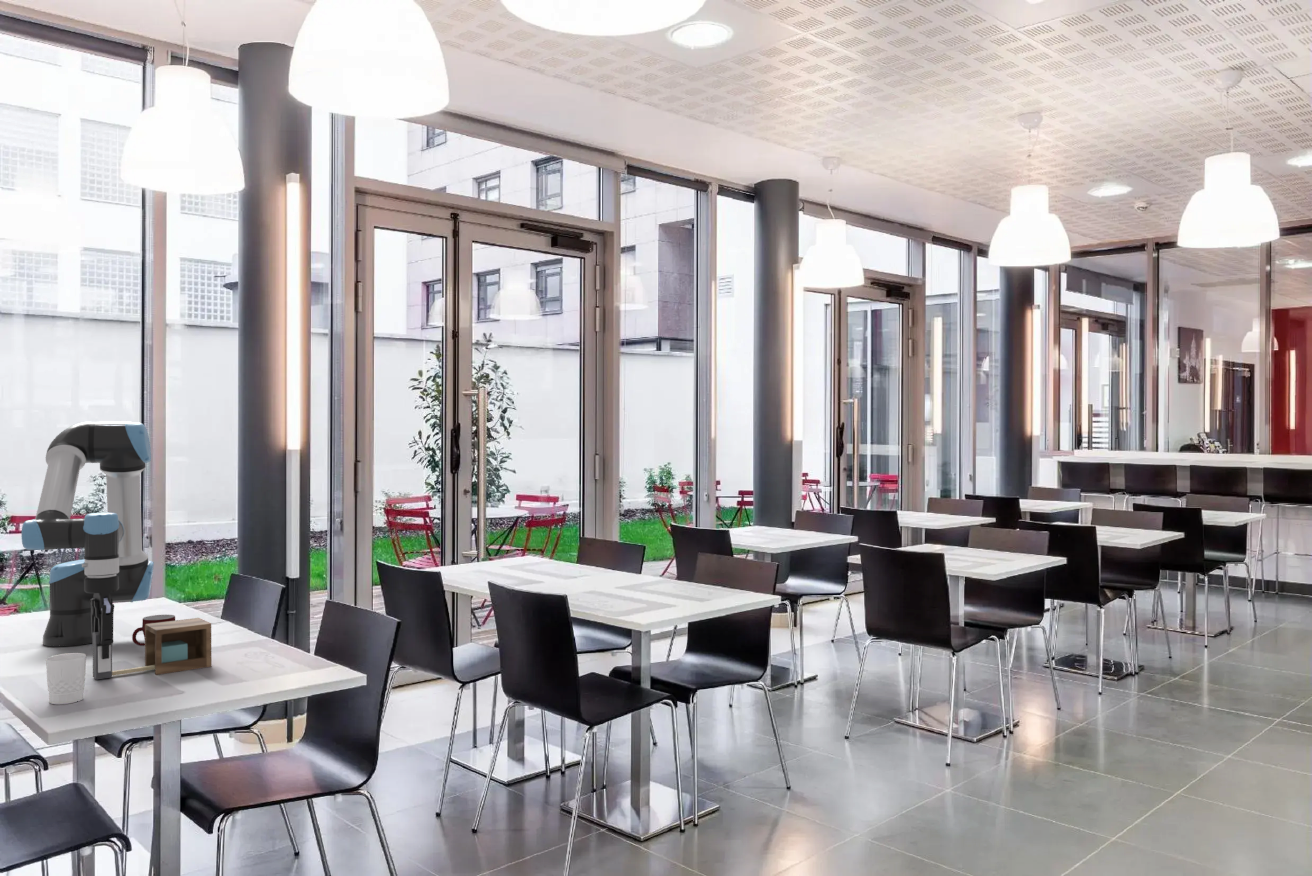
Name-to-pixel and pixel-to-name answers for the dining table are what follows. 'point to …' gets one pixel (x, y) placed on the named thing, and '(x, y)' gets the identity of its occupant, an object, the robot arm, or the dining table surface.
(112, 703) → the dining table surface
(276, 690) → the dining table surface
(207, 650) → the shelf
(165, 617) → the mug
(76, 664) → the white cup
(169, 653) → the double-ended block stick
